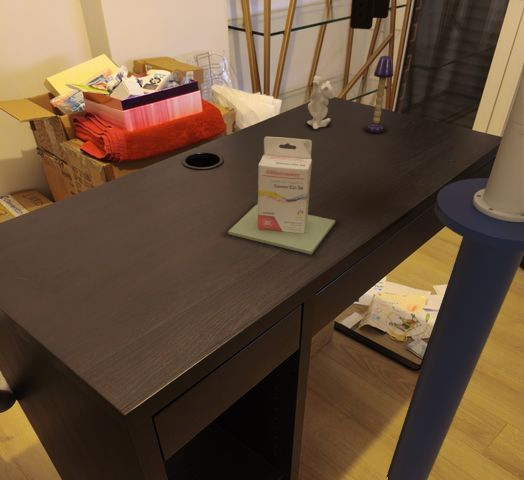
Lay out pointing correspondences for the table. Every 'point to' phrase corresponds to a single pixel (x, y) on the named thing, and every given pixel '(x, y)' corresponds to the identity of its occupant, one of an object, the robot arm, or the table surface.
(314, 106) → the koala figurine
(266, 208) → the ink cartridge box
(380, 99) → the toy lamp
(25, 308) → the table surface
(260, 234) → the mat
